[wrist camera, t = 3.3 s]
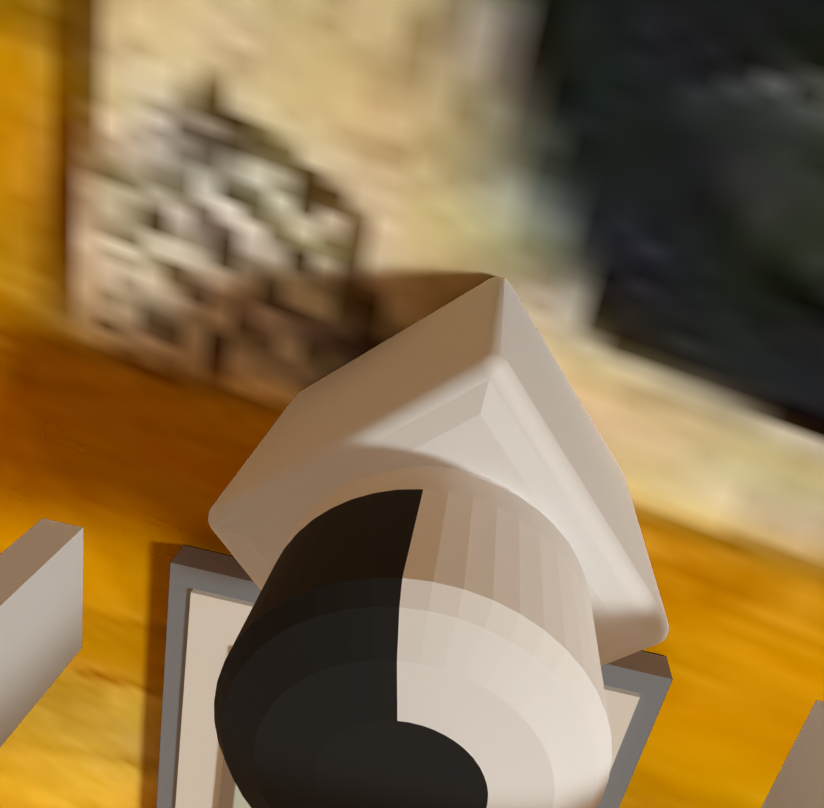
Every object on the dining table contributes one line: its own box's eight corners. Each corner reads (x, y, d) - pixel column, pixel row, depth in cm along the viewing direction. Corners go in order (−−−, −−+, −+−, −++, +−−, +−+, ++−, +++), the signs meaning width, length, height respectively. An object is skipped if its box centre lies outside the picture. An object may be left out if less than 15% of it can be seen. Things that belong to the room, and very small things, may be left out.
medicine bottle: (421, 574, 23) (339, 994, 12) (291, 393, 22) (58, 697, 11) (628, 477, 21) (752, 882, 10) (502, 267, 19) (488, 483, 8)
